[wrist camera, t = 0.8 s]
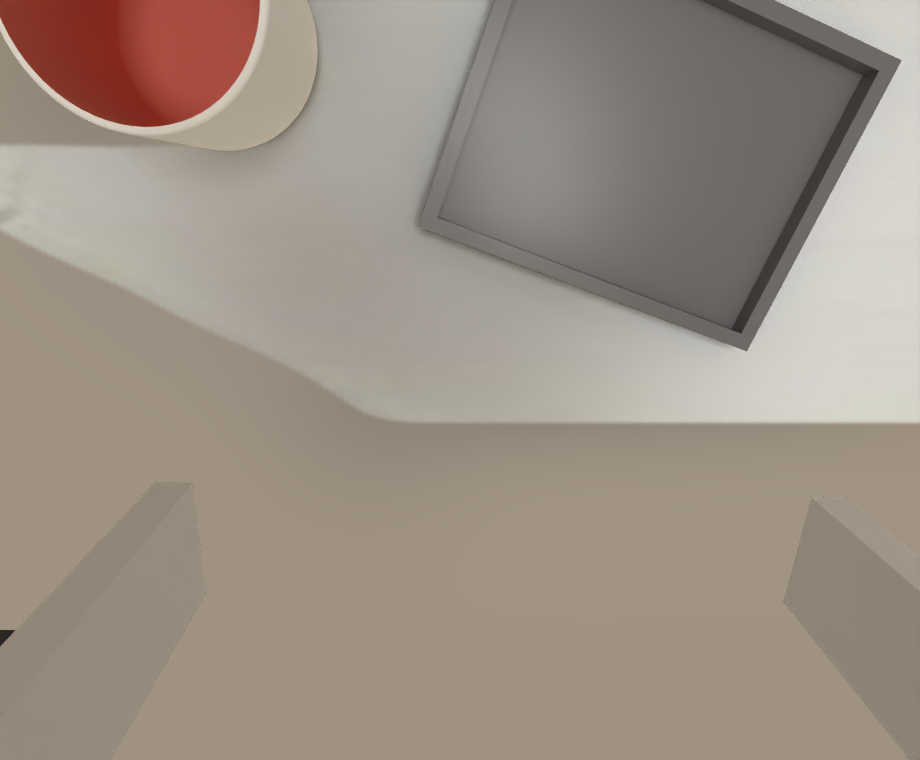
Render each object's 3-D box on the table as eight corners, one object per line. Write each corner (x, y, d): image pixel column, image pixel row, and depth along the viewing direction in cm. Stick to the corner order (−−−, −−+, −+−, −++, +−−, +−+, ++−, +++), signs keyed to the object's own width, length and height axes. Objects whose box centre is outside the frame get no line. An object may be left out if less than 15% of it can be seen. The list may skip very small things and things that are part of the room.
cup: (186, 181, 32) (78, 176, 23) (86, -17, 29) (-87, -119, 20) (354, 109, 31) (315, 73, 22) (268, -103, 28) (180, -252, 19)
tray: (419, 224, 33) (417, 226, 31) (527, -93, 29) (533, -114, 27) (730, 342, 36) (746, 351, 34) (873, 68, 31) (901, 60, 29)
